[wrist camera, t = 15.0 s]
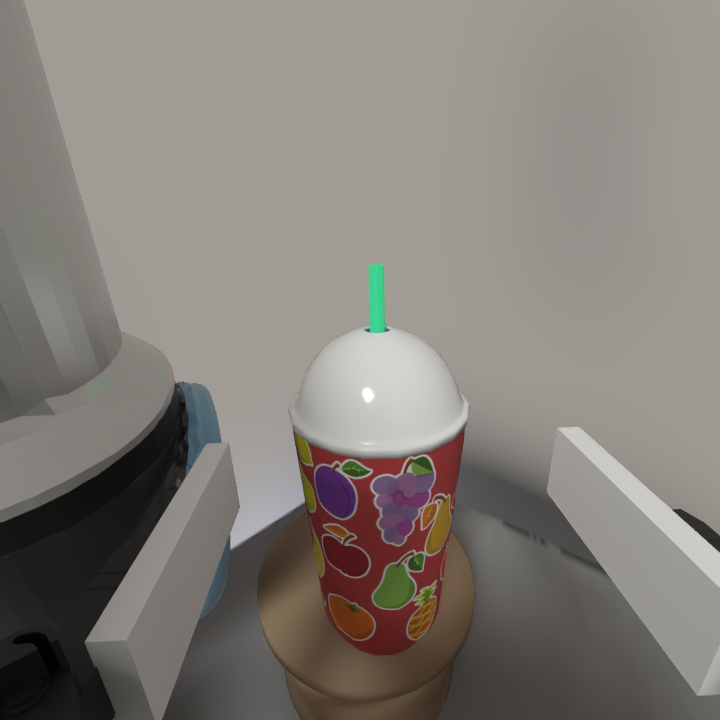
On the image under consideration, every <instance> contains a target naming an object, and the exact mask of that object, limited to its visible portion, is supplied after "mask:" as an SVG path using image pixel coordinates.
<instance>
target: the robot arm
mask: <svg viewBox="0 0 720 720" xmlns="http://www.w3.org/2000/svg"><path fill="white" fill-rule="evenodd" d="M547 493H548V494H549V496H550V497H551V498H552V500H553V501H554V502H555V504H556V505H557V506H558V508H559V509H560V510H561V512H562V513H563V514H564V516H565V517H566V519H567V520H568V521H569V522H570V524H571V525H572V527H573V528H574V529H575V531H576V532H577V533H578V535H579V536H580V537H581V539H582V540H583V542H584V543H585V544H586V546H587V547H588V548H589V550H590V551H591V552H592V554H593V555H594V556H595V558H596V559H597V561H598V562H599V563H600V565H601V566H602V567H603V569H604V570H605V571H606V573H607V574H608V575H609V577H610V578H611V580H612V581H613V582H614V584H615V585H616V586H617V588H618V589H619V590H620V592H621V593H622V594H623V596H624V597H625V599H626V600H627V601H628V603H629V604H630V605H631V607H632V608H633V609H634V611H635V612H636V613H637V615H638V616H639V617H640V619H641V620H642V622H643V623H644V624H645V626H646V627H647V628H648V630H649V631H650V632H651V634H652V635H653V636H654V638H655V639H656V641H657V642H658V643H659V645H660V646H661V647H662V649H663V650H664V651H665V653H666V654H667V655H668V657H669V658H670V660H671V661H672V662H673V664H674V665H675V666H676V668H677V669H678V670H679V672H680V673H681V674H682V676H683V677H684V678H685V680H686V681H687V683H688V684H689V685H690V687H691V688H692V689H693V691H694V692H695V693H696V695H697V696H704V695H720V536H719V535H718V534H717V533H716V532H715V531H714V530H712V529H711V528H710V527H709V526H708V525H706V524H705V523H704V522H702V521H701V520H699V519H697V518H695V517H693V516H692V515H690V514H688V513H687V512H685V511H683V510H681V509H676V510H671V509H670V508H669V507H668V506H667V505H666V504H664V503H663V502H662V501H661V500H660V499H659V498H658V497H657V496H656V495H655V494H653V493H652V492H651V491H650V490H649V489H648V488H647V487H645V486H644V485H643V484H642V483H641V482H640V481H639V480H638V479H637V478H635V477H634V476H633V475H632V474H631V473H630V472H629V471H628V470H627V469H625V468H624V467H623V466H622V465H621V464H620V463H619V462H618V461H616V460H615V459H614V458H613V457H612V456H611V455H610V454H608V453H607V452H606V451H605V450H604V449H603V448H602V447H601V446H600V445H599V444H597V443H596V442H595V441H594V440H593V439H592V438H591V437H590V436H588V435H587V434H586V433H585V432H584V431H583V430H582V429H581V428H579V427H567V428H558V429H557V434H556V440H555V446H554V451H553V457H552V464H551V469H550V475H549V481H548V486H547ZM239 507H240V505H239V500H238V494H237V488H236V482H235V476H234V470H233V464H232V458H231V453H230V447H229V443H221V436H220V430H219V425H218V419H217V415H216V411H215V407H214V404H213V401H212V397H211V395H210V393H209V391H208V390H207V389H206V387H204V386H203V385H201V384H196V383H194V384H189V383H184V382H178V383H175V379H174V374H173V370H172V367H171V365H170V363H169V361H168V360H167V358H166V357H165V355H164V354H163V353H162V352H161V351H160V350H159V349H157V348H156V347H154V346H153V345H151V344H149V343H147V342H145V341H143V340H141V339H139V338H136V337H134V336H132V335H129V334H127V333H125V332H122V331H121V330H120V329H119V325H118V322H117V318H116V315H115V311H114V308H113V305H112V301H111V298H110V294H109V291H108V287H107V284H106V281H105V277H104V274H103V270H102V267H101V263H100V260H99V257H98V253H97V250H96V247H95V243H94V240H93V236H92V233H91V229H90V226H89V223H88V219H87V216H86V212H85V209H84V205H83V202H82V199H81V195H80V192H79V188H78V185H77V181H76V178H75V175H74V171H73V168H72V164H71V161H70V157H69V154H68V150H67V147H66V144H65V140H64V137H63V134H62V130H61V126H60V123H59V120H58V116H57V113H56V109H55V106H54V102H53V99H52V96H51V92H50V89H49V85H48V82H47V78H46V75H45V72H44V69H43V65H42V61H41V58H40V55H39V51H38V48H37V44H36V41H35V37H34V34H33V30H32V27H31V24H30V20H29V17H28V13H27V10H26V7H25V3H24V0H0V720H113V718H114V716H115V718H116V720H162V718H163V716H164V713H165V710H166V707H167V705H168V702H169V699H170V696H171V694H172V691H173V688H174V685H175V683H176V680H177V677H178V675H179V672H180V669H181V666H182V664H183V661H184V658H185V655H186V653H187V650H188V647H189V644H190V642H191V639H192V636H193V633H194V631H195V628H196V625H197V622H198V621H199V620H200V619H202V618H204V617H205V616H206V615H208V614H209V613H210V612H211V611H212V610H213V609H214V608H215V607H216V605H217V604H218V603H219V601H220V600H221V598H222V596H223V594H224V591H225V588H226V585H227V581H228V577H229V568H230V532H231V529H232V526H233V524H234V521H235V518H236V515H237V513H238V510H239Z"/></svg>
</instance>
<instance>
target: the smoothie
mask: <svg viewBox="0 0 720 720" xmlns="http://www.w3.org/2000/svg"><path fill="white" fill-rule="evenodd" d="M369 312H370V313H369V314H370V326H366V327H361V328H358V329H355V330H352V331H350V332H347V333H345V334H343V335H341V336H339V337H337V338H336V339H334V340H333V341H332V342H330V343H329V344H328V345H326V346H325V347H324V348H323V349H322V350H321V351H320V352H319V353H318V354H317V355H316V357H315V358H314V359H313V361H312V362H311V364H310V365H309V367H308V369H307V371H306V374H305V376H304V379H303V381H302V385H301V387H300V390H299V392H298V393H297V394H295V395H294V397H293V399H292V402H291V405H290V407H289V410H288V411H289V415H290V418H291V421H292V424H293V433H294V438H295V445H296V450H297V456H298V461H299V467H300V473H301V479H302V485H303V490H304V496H305V502H306V508H307V514H308V519H309V525H310V531H311V537H312V542H313V548H314V554H315V560H316V565H317V571H318V577H319V583H320V588H321V594H322V600H323V604H324V608H325V611H326V615H327V618H328V619H329V621H330V622H331V624H332V625H333V627H334V628H335V629H336V631H337V632H338V634H340V635H341V636H343V637H344V638H345V639H346V641H347V642H349V643H350V644H351V645H353V646H354V647H356V648H357V649H359V650H360V651H363V652H366V653H369V654H373V655H376V656H380V655H394V654H397V653H399V652H402V651H404V650H406V649H409V648H410V647H411V646H412V645H413V644H414V643H415V642H416V641H418V640H419V639H420V638H421V637H422V636H423V635H424V634H425V633H426V632H427V631H428V630H429V629H430V628H431V626H432V624H433V622H434V620H435V618H436V616H437V614H438V609H439V603H440V596H441V589H442V582H443V576H444V569H445V562H446V556H447V549H448V542H449V536H450V529H451V522H452V516H453V509H454V502H455V495H456V488H457V482H458V475H459V469H460V462H461V455H462V449H463V442H464V431H465V427H466V425H467V421H468V416H469V408H470V405H469V404H468V402H467V400H466V399H465V397H464V395H463V393H462V392H461V391H460V390H459V388H458V386H457V383H456V381H455V378H454V376H453V374H452V372H451V370H450V369H449V367H448V365H447V364H446V363H445V361H444V360H443V358H442V356H441V355H440V354H439V353H438V352H437V351H436V350H435V349H434V348H433V347H432V346H431V345H430V344H429V343H427V342H426V341H424V340H423V339H421V338H420V337H418V336H417V335H415V334H412V333H410V332H408V331H405V330H402V329H399V328H395V327H391V326H385V318H384V317H385V316H384V265H381V264H374V265H369Z"/></svg>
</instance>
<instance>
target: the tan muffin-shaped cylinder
mask: <svg viewBox="0 0 720 720" xmlns="http://www.w3.org/2000/svg"><path fill="white" fill-rule="evenodd" d="M474 595H475V591H474V579H473V574H472V569H471V566H470V563H469V561H468V558H467V556H466V554H465V552H464V550H463V548H462V546H461V545H460V543H459V542H458V540H457V539H456V538H455V536H454V535H453V534H452V533H451V532H450V536H449V542H448V549H447V556H446V562H445V569H444V576H443V582H442V589H441V596H440V603H439V609H438V614H437V616H436V618H435V620H434V622H433V624H432V626H431V628H430V629H429V630H428V631H427V632H426V633H425V634H424V635H423V636H422V637H421V638H420V639H419V640H418V641H416V642H415V643H414V644H413V645H412V646H411V647H410V648H409V649H406V650H404V651H402V652H399V653H397V654H394V655H380V656H376V655H373V654H369V653H366V652H363V651H360V650H359V649H357V648H356V647H354V646H353V645H351V644H350V643H349V642H347V641H346V639H345V638H344V637H343V636H341V635H340V634H338V632H337V631H336V629H335V628H334V627H333V625H332V624H331V622H330V621H329V619H328V618H327V615H326V611H325V608H324V604H323V600H322V594H321V588H320V583H319V577H318V571H317V565H316V560H315V554H314V548H313V542H312V537H311V531H310V525H309V519H308V514H307V513H305V514H304V515H302V516H301V517H299V518H298V519H296V520H295V521H294V522H293V523H291V524H290V525H289V526H288V527H287V528H286V529H285V530H284V531H283V532H282V533H281V534H280V535H279V536H278V538H277V539H276V540H275V542H274V543H273V545H272V546H271V548H270V549H269V551H268V553H267V555H266V557H265V559H264V562H263V564H262V567H261V571H260V575H259V579H258V589H257V598H258V609H259V615H260V620H261V625H262V629H263V632H264V635H265V638H266V640H267V643H268V645H269V647H270V648H271V650H272V652H273V653H274V655H275V657H276V658H277V659H278V661H279V662H280V663H281V664H282V665H283V667H284V668H285V674H286V681H287V686H288V690H289V694H290V697H291V700H292V702H293V705H294V707H295V709H296V711H297V713H298V715H299V716H300V718H301V720H435V719H436V717H437V716H438V714H439V712H440V711H441V709H442V706H443V704H444V702H445V699H446V696H447V693H448V689H449V685H450V677H451V667H452V661H453V660H454V659H455V657H456V656H457V654H458V653H459V651H460V650H461V648H462V646H463V644H464V642H465V640H466V637H467V635H468V633H469V629H470V625H471V621H472V615H473V605H474Z"/></svg>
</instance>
